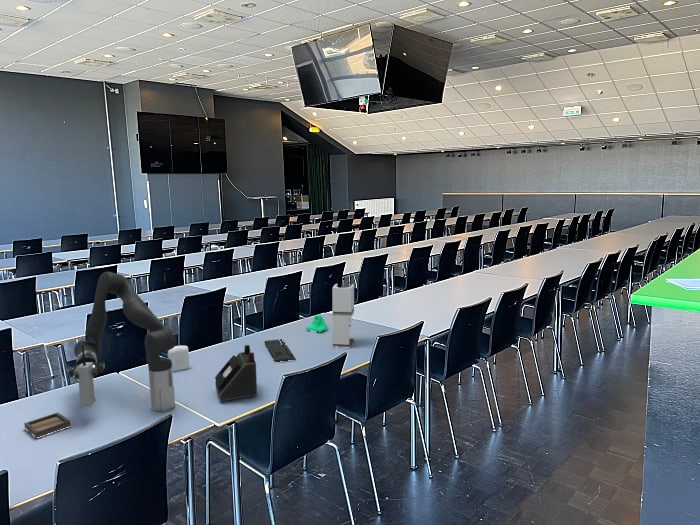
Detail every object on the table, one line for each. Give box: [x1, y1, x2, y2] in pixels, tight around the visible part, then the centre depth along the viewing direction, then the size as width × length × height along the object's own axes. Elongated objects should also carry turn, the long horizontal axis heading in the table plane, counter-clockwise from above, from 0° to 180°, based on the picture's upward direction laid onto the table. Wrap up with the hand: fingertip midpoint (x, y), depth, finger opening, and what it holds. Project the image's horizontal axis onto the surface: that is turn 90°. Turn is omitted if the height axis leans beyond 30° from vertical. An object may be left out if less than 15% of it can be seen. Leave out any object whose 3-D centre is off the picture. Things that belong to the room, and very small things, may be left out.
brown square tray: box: [24, 412, 72, 439], centre depth 194 cm, size 12×12×2 cm
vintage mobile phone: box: [77, 345, 97, 408], centre depth 198 cm, size 4×5×25 cm
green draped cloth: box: [305, 313, 328, 333], centre depth 320 cm, size 12×8×10 cm, turn 57°
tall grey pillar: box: [331, 283, 355, 348], centre depth 291 cm, size 11×11×35 cm
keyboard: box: [263, 338, 297, 363], centre depth 282 cm, size 35×11×2 cm, turn 19°
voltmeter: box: [214, 344, 258, 403], centre depth 225 cm, size 16×16×20 cm
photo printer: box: [167, 345, 190, 373], centre depth 254 cm, size 10×4×12 cm, turn 124°
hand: (85, 375), depth 196 cm, fingers closed on vintage mobile phone, 5 cm apart
